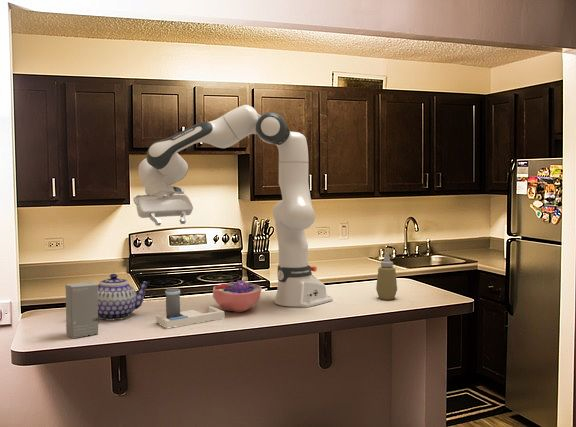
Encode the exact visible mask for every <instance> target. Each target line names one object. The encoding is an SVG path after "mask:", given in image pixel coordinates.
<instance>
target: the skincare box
mask: <svg viewBox="0 0 576 427" xmlns="http://www.w3.org/2000/svg"><path fill="white" fill-rule="evenodd" d="M64 286H65V316H66V317H65V322H66V324H65V327H66V335H68V336H69V337H70V338H71V339H78V337H79V338H84V337H83V336H85V337H88V335H90V336H95V335H94V334H96V335H99V316H98V294H97V286H98V284H96V283H94V282H77V283H67V284H65V285H64Z"/></svg>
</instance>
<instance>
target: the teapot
mask: <svg viewBox="0 0 576 427" xmlns="http://www.w3.org/2000/svg"><path fill="white" fill-rule="evenodd" d="M150 283H151V282H150V281H147V280H146V281H145V280H144V281H142V282H141V284H140V286H139V287H138V290H135V288H134V286H132V285H131V284H129V281H128V279H125V278H118V274H116V273H111V274H110V275H109V278H106V279H103V280H100V281H99V282H98V284H97V294H98V319H100V318H101V319H100V320H102V319H106V320H105V321H114V320H113V319H120V320H122V319H121V318H124V319H126V318H125V317H127V316H128V315H129V316H130V315H131V314H132V313H133V312H134V311H135V310H138V309H139V308H141V306H142V304H143V301H144V298H145V292H146V288H147V286H148V285H149V284H150ZM129 316H128V317H129ZM128 317H127V318H128Z"/></svg>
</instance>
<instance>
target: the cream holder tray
mask: <svg viewBox="0 0 576 427" xmlns="http://www.w3.org/2000/svg"><path fill="white" fill-rule="evenodd" d="M225 317H226V316H225V311H224V310H221V309H219V308H217V307H215V306H209V307H208V312H206V313H202V312H199V311H197V310H195V309H189V310H184V311H183V310H182V311H180V317H174V318H169V319H167V318H166V317H165V316H163V315H161V314H158V315H155V323H156V322H157V323H159V324H161V325H163V326H165V327H166V328H168V327H174V326H180V327H182V326H181V325H186V326H188V325H187V324H192V325H194V324H193V323H197V324H199V323H198V322H203V321H209V322H211V321H210V320H214V321H218V320H217V319H220V320H223V319H222V318H225ZM157 323H156V324H157ZM203 323H204V322H203ZM159 324H158V325H159ZM161 325H160V326H161ZM166 328H165V329H166Z"/></svg>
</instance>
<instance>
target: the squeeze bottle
mask: <svg viewBox="0 0 576 427" xmlns="http://www.w3.org/2000/svg"><path fill="white" fill-rule="evenodd" d="M396 272H397V270H396V268H395V267H394V261H391V259H390V253H389V252H385V253H384V258H383V260H382V261H380V266H379V267H378V269H377V278H376V288H375V290H376V293H377V296H378V298H379V299H380V300H385V301H390V300H394V299H395V297H396V294H397V291H398V284H397V281H398V280H397V273H396Z"/></svg>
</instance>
